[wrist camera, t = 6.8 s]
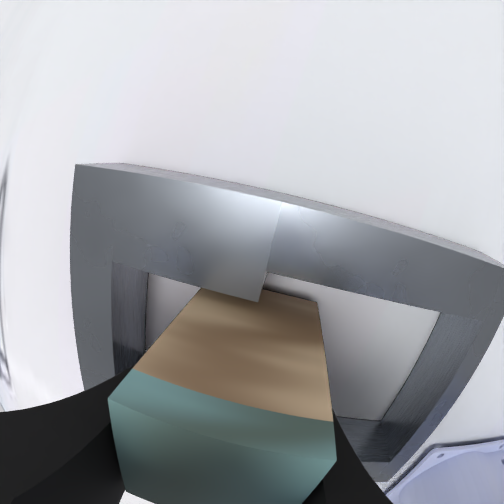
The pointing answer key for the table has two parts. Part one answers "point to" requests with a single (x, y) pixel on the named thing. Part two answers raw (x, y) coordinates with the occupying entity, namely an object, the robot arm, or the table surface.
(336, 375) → the table surface
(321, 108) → the table surface
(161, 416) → the plug block
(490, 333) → the keyhole plate
